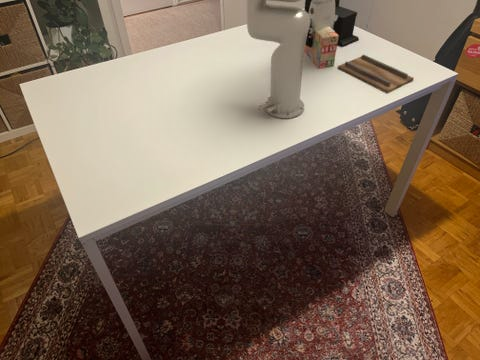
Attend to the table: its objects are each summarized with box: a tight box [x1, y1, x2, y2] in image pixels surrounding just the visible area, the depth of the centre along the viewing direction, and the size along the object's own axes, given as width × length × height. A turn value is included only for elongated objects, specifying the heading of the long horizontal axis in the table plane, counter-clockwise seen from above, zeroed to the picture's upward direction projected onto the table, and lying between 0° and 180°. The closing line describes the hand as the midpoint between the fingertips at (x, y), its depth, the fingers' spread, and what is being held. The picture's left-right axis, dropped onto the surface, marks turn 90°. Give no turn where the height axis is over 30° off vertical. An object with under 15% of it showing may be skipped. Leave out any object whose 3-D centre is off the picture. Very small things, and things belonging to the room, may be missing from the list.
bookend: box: [303, 0, 360, 48], centre depth 153 cm, size 23×11×24 cm, turn 38°
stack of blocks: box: [304, 27, 339, 69], centre depth 143 cm, size 21×6×12 cm, turn 14°
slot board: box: [337, 54, 415, 94], centre depth 134 cm, size 14×23×2 cm, turn 35°
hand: (318, 42), depth 144 cm, fingers open, 9 cm apart
